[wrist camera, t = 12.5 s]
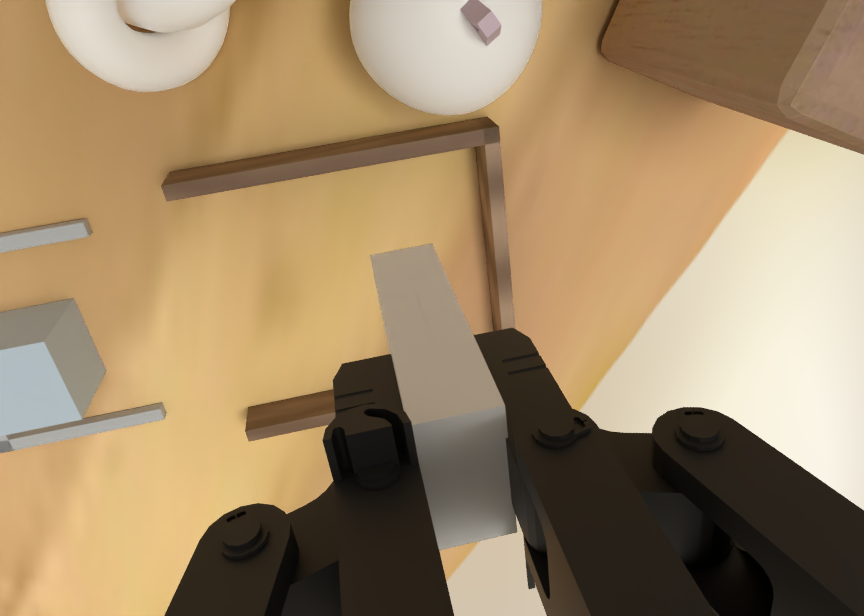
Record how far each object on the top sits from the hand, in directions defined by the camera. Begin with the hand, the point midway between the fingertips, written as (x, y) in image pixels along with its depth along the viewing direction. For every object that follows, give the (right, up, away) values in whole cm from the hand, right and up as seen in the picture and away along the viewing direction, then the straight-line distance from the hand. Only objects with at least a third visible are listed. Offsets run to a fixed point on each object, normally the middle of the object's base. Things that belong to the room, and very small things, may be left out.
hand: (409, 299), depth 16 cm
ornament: (0, +18, +24) cm, 30 cm away
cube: (-27, -3, +30) cm, 40 cm away
